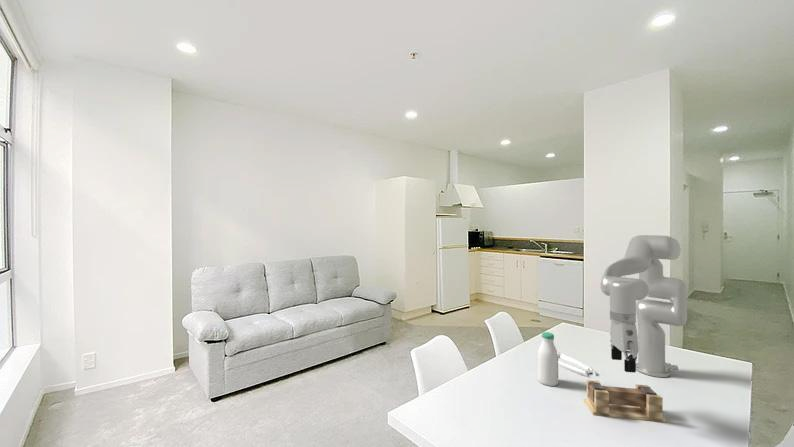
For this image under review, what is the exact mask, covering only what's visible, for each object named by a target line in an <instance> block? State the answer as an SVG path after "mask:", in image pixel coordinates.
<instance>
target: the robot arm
mask: <svg viewBox="0 0 794 447" xmlns="http://www.w3.org/2000/svg"><path fill="white" fill-rule="evenodd" d="M680 255H681V245H680V243H679V241H678V240H677V239H675V238H674V237H671V236H668V235H655V234H652V235H649V234H647V235H645V234H643V235H641V234H640V235H636V236H633V237H632V238H631V239H630V240H629V243H628V246H627V249H626V251H625V254H624V257H622V258H620V259H618V260H616V261H615V262H613V263H611V264H609V265H608V266H607V267H606V269H605V270H604V273H603V276H602V278H601V279H600V280H601V281H600V290H601V292H602V294H603V295H605V296H608V297H609V320H610V333H609V335H610V336H609V337H610V339H609V341H610V343H611V344H610V347H611V349H610V350H611V356H610V358H611V359H612V360H614V361H622V359H623V355H624V358H625V359H624V361H623V362H624V366H623V367H624V369H623V370H624V372H626V373H637V372H638V373H641V374H643V375H647V376H651V377H656V378H668V377H670V376H671V372H670V371H671V370H672V371H679V367H678V365H677V364H671V363H670V362H669V363H668V362H666V333H665V331H664V328H663V327H662V326H661V325H660V324H662V325H669V326H675V327H683V326H685V325H686V323H687V320H688V309H687V308H688V303H687V302H688V301H687V287H686V284H685V282H684V281H683V280H682V279H681V278H676V277H669V276H668V277H667V276H664V265H663V263H662V262H661V260H669V261H670V260H673V261H674V260H677V259H678V258H679V257H680ZM636 274H638V278H635V277H634V278H633V277H632V278H631V277H625V276H631V275H636ZM646 297H648V299H645V298H646ZM649 298H654V299H649ZM656 299H661V300H656ZM662 300H669V301H671V302H669V301H662ZM636 301H637V302H636ZM636 323H637V325H636ZM628 354H629V355H628ZM637 359H638V360H637ZM637 361H638V362H637Z"/></svg>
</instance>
